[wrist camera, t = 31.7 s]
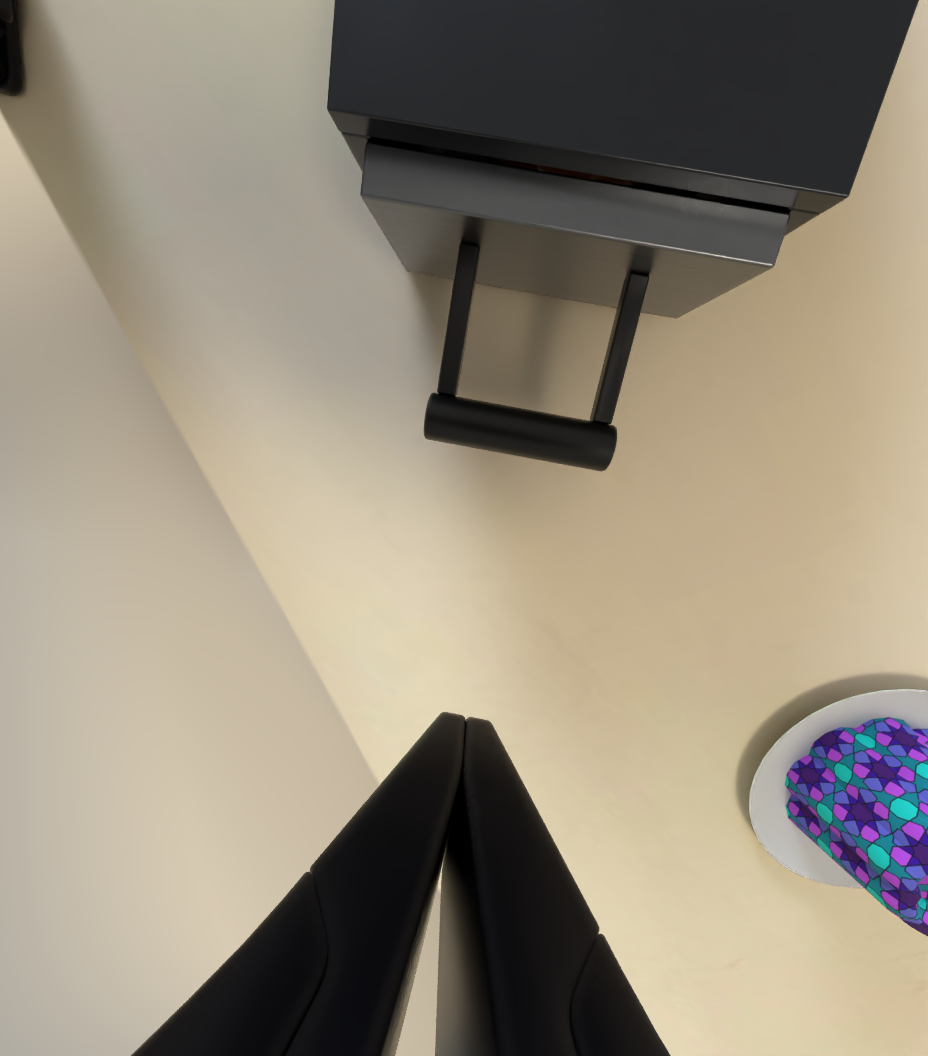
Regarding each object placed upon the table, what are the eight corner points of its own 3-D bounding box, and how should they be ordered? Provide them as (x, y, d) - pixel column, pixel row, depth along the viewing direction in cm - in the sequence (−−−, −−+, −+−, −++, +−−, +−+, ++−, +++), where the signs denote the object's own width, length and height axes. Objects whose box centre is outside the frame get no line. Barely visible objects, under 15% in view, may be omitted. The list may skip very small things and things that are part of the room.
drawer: (634, 470, 18) (699, 496, 12) (386, 424, 18) (337, 428, 12) (832, -229, 12) (1119, -776, 7) (474, -282, 12) (457, -855, 7)
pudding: (988, 862, 22) (1133, 994, 17) (746, 882, 24) (814, 1008, 19) (1011, 661, 19) (1192, 748, 14) (734, 697, 21) (810, 788, 16)
